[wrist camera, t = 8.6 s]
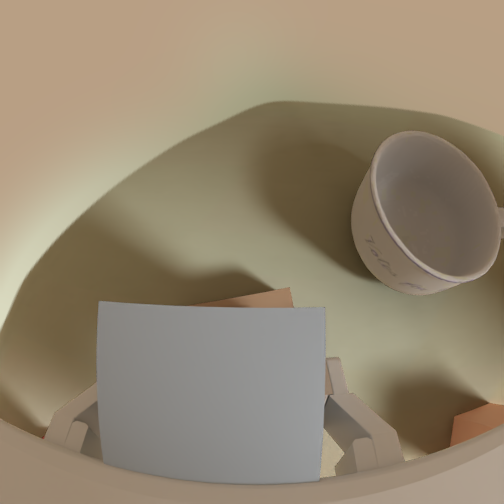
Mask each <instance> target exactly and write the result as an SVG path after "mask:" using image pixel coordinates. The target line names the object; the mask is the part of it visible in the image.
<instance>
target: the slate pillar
mask: <svg viewBox="0 0 504 504" xmlns="http://www.w3.org/2000/svg"><path fill="white" fill-rule="evenodd" d="M325 357H326V336H325V307H306V308H234V307H196V306H171V305H152V304H135V303H121V302H108V301H99V305H98V322H97V356H96V368H97V401H98V417H99V429H100V439H101V447H102V455H103V462H104V464H106V465H110V466H114V467H118V468H122V469H126V470H130V471H134V472H139V473H144V474H149V475H154V476H159V477H165V478H172V479H178V480H186V481H194V482H204V483H216V484H234V485H280V484H297V483H309V482H319V479H320V468H321V456H322V442H323V425H324V403H325Z"/></svg>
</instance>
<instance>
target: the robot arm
mask: <svg viewBox="0 0 504 504" xmlns="http://www.w3.org/2000/svg"><path fill="white" fill-rule="evenodd" d="M323 428H324V429H325V430H326V431H327V432H328V434H329V435H330V436H331V437H332V438H333V439H334V441H335V442H336V443H337V444H338V445H339V447H340V448H341V449H342V450H343V451H344V452H345V454H344V455H343V457H342V458H341V459H340V461H339V462H338V463H337V465H336V466H335V472H336V476H331V477H323V478H320V479H319V482H309V483H297V484H280V485H234V484H216V483H204V482H194V481H186V480H178V479H172V478H165V477H159V476H154V475H149V474H144V473H139V472H134V471H130V470H126V469H122V468H118V467H114V466H110V465H106V464H104V462H103V455H102V447H101V439H100V429H99V417H98V401H97V382H96V383H95V384H93V385H92V386H91V387H89V388H88V389H86V390H85V391H84V392H82V393H81V394H80V395H78V396H77V397H75V398H74V399H73V400H71V401H70V402H69V403H67V404H66V405H64V406H63V407H62V408H60V409H59V410H57V411H56V412H55V413H54V415H53V418H52V420H51V422H50V425H49V427H48V430H47V432H46V434H45V437H44V439H42V438H39V437H37V436H35V435H33V434H30V433H28V432H26V431H24V430H22V429H20V428H18V427H16V426H14V425H12V424H10V423H8V422H6V421H4V420H2V419H0V504H504V423H503V424H501V425H499V426H497V427H495V428H493V429H491V430H489V431H487V432H485V433H483V434H480V435H478V436H476V437H474V438H471V439H469V440H467V441H464V442H462V443H459V444H457V445H454V446H452V447H449V448H446V449H443V450H441V451H438V452H435V453H432V454H429V455H426V456H423V457H419V458H416V459H413V460H409V461H406V462H405V461H404V457H403V453H402V449H401V446H400V442H399V439H398V435H397V432H396V430H395V429H394V428H392V427H391V426H390V425H389V424H388V423H387V422H385V421H384V420H383V419H382V418H381V417H380V416H379V415H377V414H376V413H375V412H374V411H373V410H372V409H371V408H369V407H368V406H367V405H366V404H365V403H364V402H363V401H361V400H360V399H359V398H358V397H357V396H356V395H355V394H354V393H349V391H348V387H347V383H346V379H345V375H344V372H343V368H342V364H341V360H340V358H339V357H331V358H325V403H324V425H323Z"/></svg>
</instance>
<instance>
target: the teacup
mask: <svg viewBox="0 0 504 504" xmlns="http://www.w3.org/2000/svg"><path fill="white" fill-rule="evenodd" d="M351 228H352V235H353V239H354V243H355V246H356V249H357V251H358V253H359V255H360V257H361V259H362V261H363V262H364V264H365V265H366V267H367V268H368V269H369V270H370V272H371V273H372V274H373V275H374V276H375V277H376V278H377V279H379V280H380V281H381V282H382V283H384V284H385V285H387V286H388V287H390V288H392V289H394V290H396V291H399V292H402V293H406V294H410V295H427V294H433V293H437V292H440V291H443V290H446V289H449V288H451V287H454V286H456V285H459V284H461V283H466V282H470V281H473V280H475V279H477V278H479V277H481V276H483V275H484V274H485V273H486V272H487V271H488V270H489V269H490V267H491V266H492V265H493V263H494V261H495V259H496V257H497V254H498V251H499V248H500V241H501V239H503V238H504V207H498V206H497V203H496V200H495V197H494V195H493V193H492V190H491V189H490V186H489V184H488V182H487V181H486V179H485V177H484V176H483V174H482V173H481V171H480V170H479V169H478V167H477V166H476V165H475V164H474V163H473V162H472V161H471V160H470V159H469V158H468V157H467V156H466V155H465V154H464V153H463V152H462V151H461V150H459V149H458V148H457V147H456V146H454V145H453V144H451V143H450V142H448V141H446V140H444V139H443V138H441V137H438V136H436V135H433V134H430V133H427V132H423V131H403V132H399V133H396V134H393V135H391V136H390V137H388V138H387V139H385V140H384V141H383V142H382V143H381V144H380V146H379V147H378V148H377V150H376V152H375V153H374V156H373V159H372V162H371V166H370V167H369V169H368V171H367V173H366V175H365V177H364V179H363V181H362V183H361V185H360V187H359V189H358V191H357V194H356V197H355V200H354V203H353V207H352V213H351Z"/></svg>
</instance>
